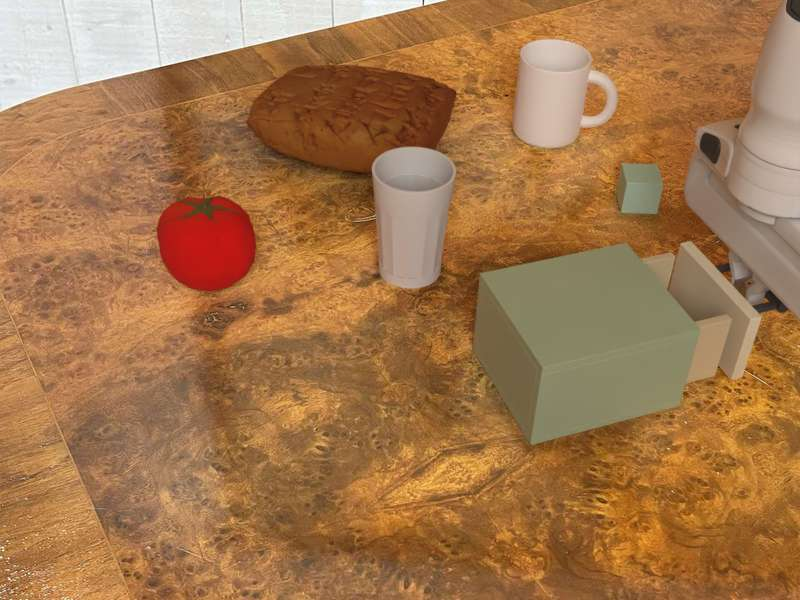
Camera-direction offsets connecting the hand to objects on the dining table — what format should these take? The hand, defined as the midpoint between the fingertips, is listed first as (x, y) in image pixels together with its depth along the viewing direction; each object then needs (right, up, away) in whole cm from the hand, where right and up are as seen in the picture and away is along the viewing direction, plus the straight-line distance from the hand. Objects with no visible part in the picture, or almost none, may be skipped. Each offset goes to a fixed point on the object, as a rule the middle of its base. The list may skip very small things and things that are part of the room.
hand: (744, 298), depth 98 cm
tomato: (-51, +2, +8) cm, 52 cm away
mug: (-12, +20, +31) cm, 39 cm away
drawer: (-7, -4, +1) cm, 8 cm away
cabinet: (-16, -7, -1) cm, 18 cm away
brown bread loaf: (-37, +17, +27) cm, 49 cm away
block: (-6, +11, +20) cm, 23 cm away
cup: (-31, +3, +10) cm, 33 cm away
